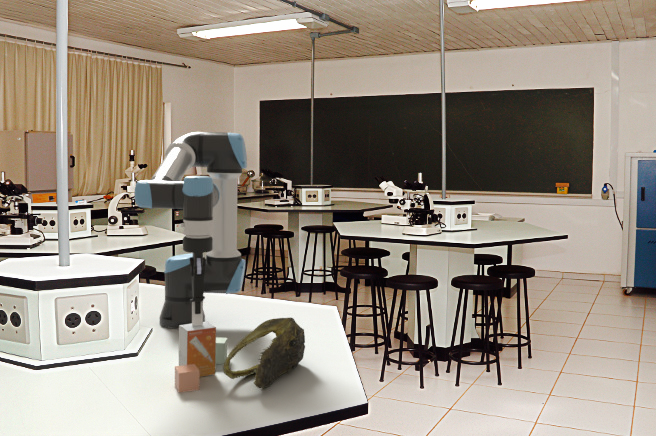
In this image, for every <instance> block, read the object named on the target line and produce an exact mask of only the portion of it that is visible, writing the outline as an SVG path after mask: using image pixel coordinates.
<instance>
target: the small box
mask: <svg viewBox="0 0 656 436" xmlns="http://www.w3.org/2000/svg"><path fill="white" fill-rule="evenodd" d="M216 337H217V327H216V326H215V325H213V323H210V322H209V321H205V322H203V325H201V326H192V323H191V324H185V325H179V328H178V366H182V365H190V364H195V365H196V367H197V368H198V369H199V378H201V377H208V376H212V375H215V374H216V364H215V360H216Z"/></svg>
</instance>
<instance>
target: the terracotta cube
mask: <svg viewBox="0 0 656 436" xmlns="http://www.w3.org/2000/svg"><path fill="white" fill-rule="evenodd" d="M174 387H175V389H176V390H177V392H178V393H186V392H193V391H198V390H199V391H200V377H199V369H198V368H197V367H196V365H195V364H190V365H182V366H179V365H177V366H174Z"/></svg>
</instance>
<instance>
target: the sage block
mask: <svg viewBox="0 0 656 436" xmlns="http://www.w3.org/2000/svg"><path fill="white" fill-rule="evenodd" d="M227 357H228V337H219V336H216V360H215V365H224V362H225V360H226V358H227Z"/></svg>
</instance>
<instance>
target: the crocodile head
mask: <svg viewBox="0 0 656 436" xmlns="http://www.w3.org/2000/svg"><path fill="white" fill-rule="evenodd" d="M270 333H273V334H275V337H274V338H273V339H272V340H270V341H271V342H270V343H269V346H267V347H266V348H264V349H263V351H262V352H260V355H258V357H260V358H258V359H257V360H258V361H259V363H258V364H256V365H253V366H251V367H249V368H246V369H241V370H232V369H231V368H230V364H231V360H232V359H233V358H234V357H235V356H236V354H238V353H239V352H240V351H241V350H242V349H244V348H245V347H247V346H248V345H250V344H252V343H254V342H255V341H257V340H258V339H260V338H263V337H266V336H267V335H269V334H270ZM305 343H306V335H305V329H304V328H303V327H301V326H300V325H299V324H298V323H297V321H296V320H295V318H293V317H279V318H271V319H268V320H265V321H263V322H261V323H260V324H259V325H258V326H257V327H255V328H254V329H253V330H252V331H250V332H249V333H247V335H245V336H244V337H243V338H242V339H241V340H240V341H239V342H238V343H237V344H236V345H235V346H234V347H233V348H232V349H231V351H229V353H228V354H227V358H226V360H225V362H224V364H222V366H223V367H222V372H223V374H224V375H225V376H227V377H228V378H229V379H232V380H235V379H238V378H241V377H247V376H250V375H254V374H255V375H254V379H255V381H253V384H254V386H255V387H257V388H258V389H265V388H267V387H270V386H271V385H272V384H273V382H275V380H277V378H279V377H280V376H283V374H285V373H287V372H289V371H290V370H291V369H294V368H296V367H298V365H300V364H299V363H301V361H302V360H303V359H304V354H305V349H306V345H305Z"/></svg>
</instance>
